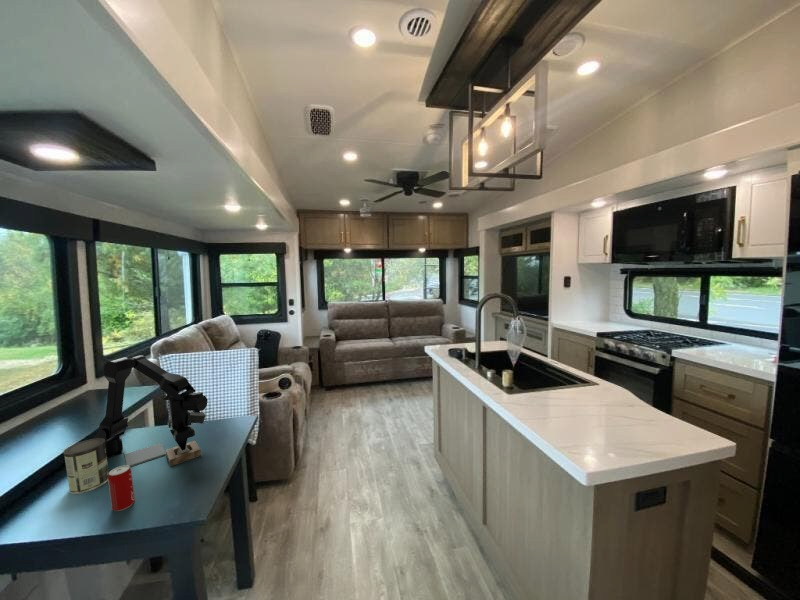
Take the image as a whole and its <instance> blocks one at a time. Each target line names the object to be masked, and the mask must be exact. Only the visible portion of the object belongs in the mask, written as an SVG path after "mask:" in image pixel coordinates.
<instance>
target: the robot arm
mask: <svg viewBox="0 0 800 600" xmlns="http://www.w3.org/2000/svg"><path fill="white" fill-rule="evenodd" d="M133 369H134V370H136V371H137V372H140V373H141V374H142V375H144V376H146V377H147V378H149V379H151V380H152V381H154V382H155V383H157V384H158V386H159V388H160V390H161V391H163V392H164V393H165V397H163V399H162V400H163V401H168V403H169V404H168V405H169V407H168V408H169V419H168V420H167V427H168V428H169V429H170V428H171V429H170V430H169V432H170V434H171V435H172V437H173V439H174V441H175V442H176V444H177V446H179V447H180V448H181V450H185V448H186V443H188V439H190V438H193V437H195V436H196V434H195V433H196V432H195V431H196V430H195V429H194V428H193V427H192V426H191V425H192V424H202V425H203V424H204V423H205V420H206V419H205V418H206V416H207V415H206V414H205V413H204V410H205V409H206V408H207V405H208V401H209V400H208V398H207V397H206V395H204V393H203V392H196V389H195V388H194V387H193V385H192V384H191V383H190V382H189V379H187V378H186V377H185V376H183V375H180V374H177V373H171V372H168V371H167V370H165V369H164V368H162V367H161V366H159V365H157V364H156V363H154V362H152V361H151V360H149V359H147V358H146V356H145V355H142V354H141V355H137V356H132V357H129V358H128V357H126V356H125V357H120V358H117V359H114V360H110V361H107V362H106V363H104V365H103V376H104V378H105V379H106V380H107V382H108V386H107V387H108V388H107V396H106V397H107V398H106V407H105V408H106V409H105V416H104V417H103V419H102V420H101V422H100V423H99V426H98V429H97V433H96V434H95V435H94V436H93V438H92V439H95V438H103V439H105V448H106V456H107V459H108V458H111V457H115V456H117V455H121V454H122V453H123V450H124V447H123V439H122V438H120V437H121V436H123V435H125V431H126V430H127V428H129V426H128V425H129V424H128V422H129V418H128V417H125V416H124V415H123V407H124V398H125V397H124V396H125V386H126V380H127V379H128V378H129V376H130V374H131V372H132V370H133Z"/></svg>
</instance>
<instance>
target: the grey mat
mask: <svg viewBox="0 0 800 600" xmlns="http://www.w3.org/2000/svg"><path fill="white" fill-rule="evenodd" d="M165 456H166V449H165V448H164V446H163V443H162V442H159V443H156V444H154V445H149V446H148V447H144V448H141V449H138V450H134V451H130V452H128V453H125V454H124V458H125V465H129V466H130V468H132V467H134V466H137V465H141V464H143V463H147V462H149V461H152V460H156V459H158V458H161V457H165Z"/></svg>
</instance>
